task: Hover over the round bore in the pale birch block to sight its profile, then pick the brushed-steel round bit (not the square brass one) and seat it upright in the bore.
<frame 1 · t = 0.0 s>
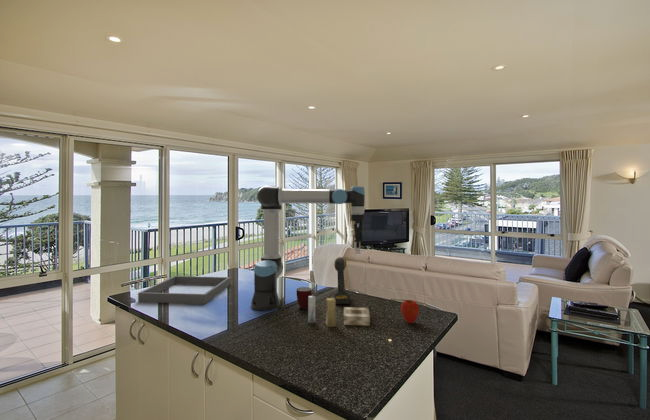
hand: (357, 251, 182), 28 cm above the worktop, fingers open, 13 cm apart
square bit: (330, 325, 147), on the worktop
bore block: (356, 320, 154), on the worktop
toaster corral: (188, 292, 195), on the worktop
cordless drill: (342, 300, 183), on the worktop
mug: (305, 308, 169), on the worktop
round bit: (311, 321, 151), on the worktop
apple: (409, 323, 151), on the worktop
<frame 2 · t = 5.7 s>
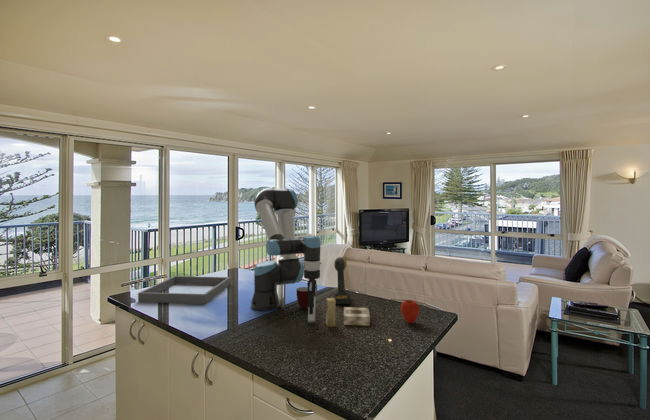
hand: (311, 318, 151), 2 cm above the worktop, fingers closed on round bit, 3 cm apart
round bit: (311, 321, 151), on the worktop, touching gripper
everything else where it was.
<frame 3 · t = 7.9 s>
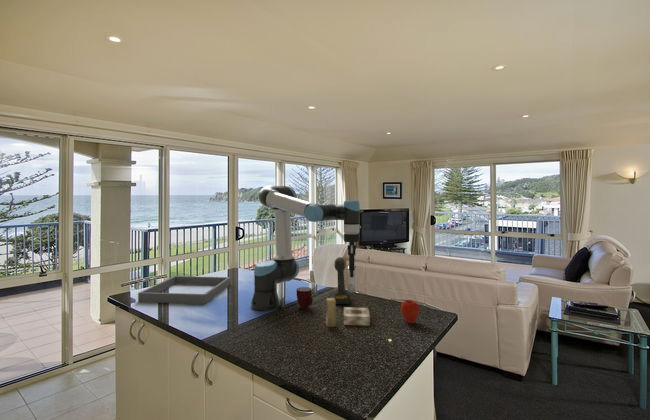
hand: (351, 282, 152), 18 cm above the worktop, fingers closed on round bit, 3 cm apart
round bit: (351, 291, 152), point 14 cm above the worktop, touching gripper
everything else where it was.
when the fingers open (5 cm above the worktop, at t = 10.2 s): round bit moves 1 cm, resting in bore block.
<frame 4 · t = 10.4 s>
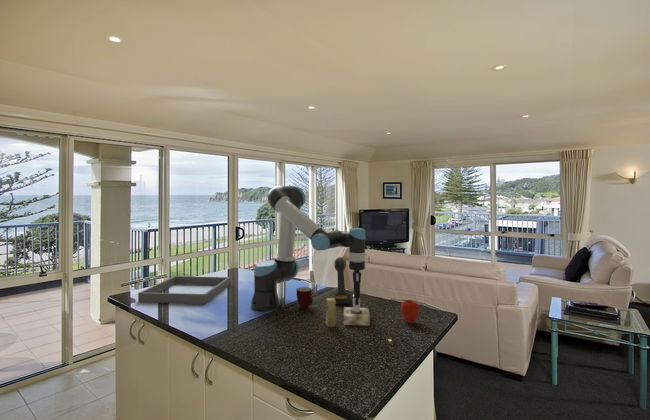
hand: (356, 308, 153), 6 cm above the worktop, fingers open, 6 cm apart
round bit: (356, 320, 154), resting in bore block
everything else where it was.
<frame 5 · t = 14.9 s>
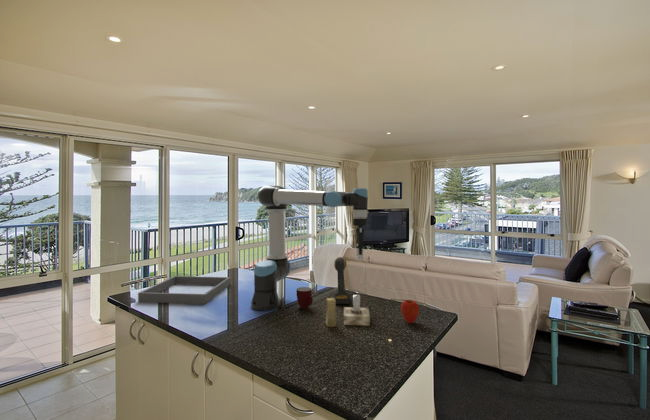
hand: (359, 258, 168), 27 cm above the worktop, fingers open, 13 cm apart
nothing on the worktop moved.
at the end: round bit 0.0 cm off-centre on the bore block, point 0.0 cm above the bore block's base; round bit tilted 0°; the gripper is holding nothing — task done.
